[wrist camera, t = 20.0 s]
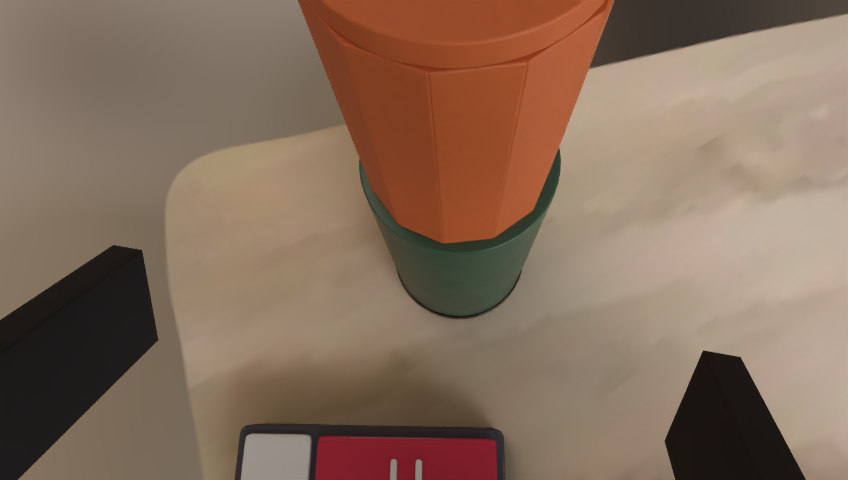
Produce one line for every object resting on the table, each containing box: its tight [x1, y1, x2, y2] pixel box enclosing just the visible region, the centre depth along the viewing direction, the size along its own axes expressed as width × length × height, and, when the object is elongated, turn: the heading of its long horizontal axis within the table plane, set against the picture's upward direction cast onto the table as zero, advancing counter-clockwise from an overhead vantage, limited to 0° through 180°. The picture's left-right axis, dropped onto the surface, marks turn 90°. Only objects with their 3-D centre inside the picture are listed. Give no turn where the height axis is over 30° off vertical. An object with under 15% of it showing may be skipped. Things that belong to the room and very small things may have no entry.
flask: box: [359, 148, 561, 319], centre depth 28 cm, size 9×9×18 cm
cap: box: [298, 0, 614, 244], centre depth 17 cm, size 7×7×12 cm
